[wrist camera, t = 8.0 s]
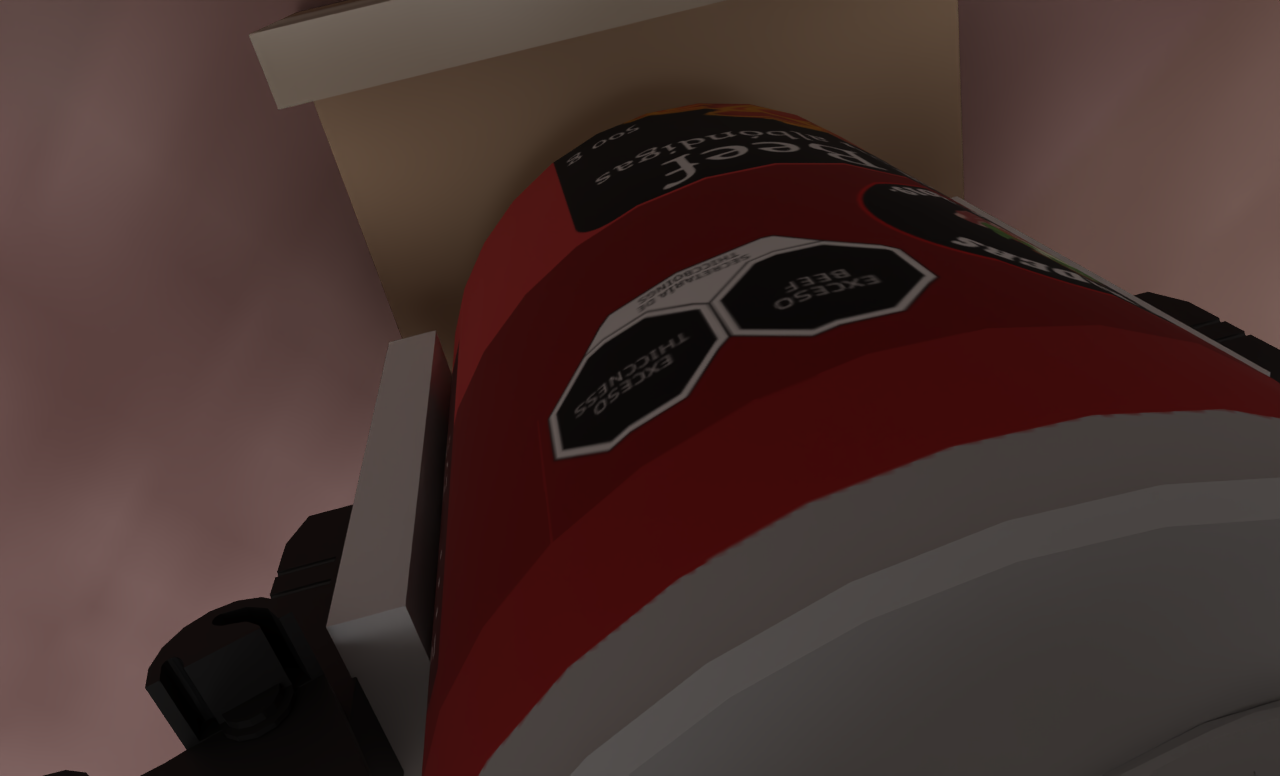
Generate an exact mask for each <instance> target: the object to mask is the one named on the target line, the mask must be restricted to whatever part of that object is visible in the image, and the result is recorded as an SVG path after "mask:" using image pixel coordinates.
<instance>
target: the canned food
mask: <svg viewBox="0 0 1280 776" xmlns="http://www.w3.org/2000/svg"><path fill="white" fill-rule="evenodd" d="M422 776H1280V383H1279V382H1277V381H1276V380H1274V379H1272V378H1271V377H1269V376H1267V375H1265V374H1263V373H1262V372H1260V371H1258V370H1256V369H1254V368H1253V367H1251V366H1249V365H1247V364H1246V363H1244V362H1242V361H1240V360H1238V359H1237V358H1235V357H1233V356H1231V355H1229V354H1228V353H1226V352H1224V351H1222V350H1221V349H1219V348H1217V347H1215V346H1213V345H1212V344H1210V343H1208V342H1206V341H1204V340H1203V339H1201V338H1199V337H1197V336H1196V335H1194V334H1192V333H1190V332H1188V331H1187V330H1185V329H1183V328H1181V327H1179V326H1178V325H1176V324H1174V323H1172V322H1171V321H1169V320H1167V319H1165V318H1163V317H1162V316H1160V315H1158V314H1156V313H1154V312H1153V311H1151V310H1149V309H1147V308H1146V307H1144V306H1142V305H1140V304H1138V303H1137V302H1135V301H1133V300H1131V299H1129V298H1128V297H1126V296H1124V295H1122V294H1121V293H1119V292H1117V291H1115V290H1113V289H1112V288H1110V287H1108V286H1106V285H1104V284H1103V283H1101V282H1099V281H1097V280H1096V279H1094V278H1092V277H1090V276H1088V275H1087V274H1085V273H1083V272H1081V271H1079V270H1078V269H1076V268H1074V267H1072V266H1071V265H1069V264H1067V263H1065V262H1063V261H1062V260H1060V259H1058V258H1056V257H1054V256H1053V255H1051V254H1049V253H1047V252H1046V251H1044V250H1042V249H1040V248H1038V247H1037V246H1035V245H1033V244H1031V243H1029V242H1028V241H1026V240H1024V239H1022V238H1021V237H1019V236H1017V235H1015V234H1013V233H1012V232H1010V231H1008V230H1006V229H1004V228H1003V227H1001V226H999V225H997V224H996V223H994V222H992V221H990V220H988V219H987V218H985V217H983V216H981V215H979V214H978V213H976V212H974V211H972V210H971V209H969V208H967V207H965V206H963V205H962V204H960V203H958V202H956V201H954V200H953V199H951V198H949V197H947V196H946V195H944V194H942V193H940V192H938V191H937V190H935V189H933V188H931V187H929V186H928V185H926V184H924V183H922V182H920V181H919V180H917V179H915V178H913V177H912V176H910V175H908V174H906V173H904V172H903V171H901V170H899V169H897V168H895V167H894V166H892V165H890V164H888V163H887V162H885V161H883V160H881V159H879V158H878V157H876V156H874V155H872V154H870V153H869V152H867V151H865V150H863V149H862V148H860V147H858V146H856V145H854V144H853V143H851V142H849V141H847V140H845V139H844V138H842V137H840V136H838V135H836V134H834V133H832V132H830V131H828V130H826V129H824V128H822V127H820V126H818V125H816V124H814V123H812V122H810V121H808V120H806V119H804V118H802V117H800V116H798V115H794V114H790V113H786V112H782V111H777V110H773V109H769V108H764V107H760V106H756V105H751V104H708V103H698V104H693V105H688V106H682V107H677V108H672V109H667V110H662V111H657V112H652V113H647V114H644V115H642V116H639V117H637V118H634V119H632V120H630V121H627V122H625V123H622V124H620V125H617V126H615V127H613V128H610V129H608V130H605V131H603V132H600V133H598V134H596V135H595V136H593V137H591V138H590V139H588V140H587V141H585V142H584V143H582V144H581V145H579V146H578V147H576V148H575V149H573V150H572V151H570V152H569V153H567V154H566V155H564V156H563V157H561V158H560V159H558V160H556V161H555V162H553V163H552V164H551V165H550V166H549V167H548V168H547V169H546V170H545V171H544V172H543V173H542V174H541V175H540V176H538V177H537V178H536V179H535V180H534V181H533V182H532V183H531V184H530V185H529V186H528V187H527V188H526V189H525V190H524V191H523V192H522V193H521V194H520V195H519V196H518V197H517V198H516V199H515V200H514V201H513V202H512V204H511V205H510V207H509V208H508V209H507V211H506V212H505V214H504V215H503V217H502V218H501V220H500V221H499V222H498V224H497V225H496V227H495V228H494V230H493V231H492V232H491V234H490V235H489V237H488V238H487V240H486V241H485V243H484V245H483V247H482V249H481V251H480V254H479V256H478V258H477V261H476V263H475V265H474V268H473V270H472V272H471V275H470V277H469V279H468V281H467V284H466V286H465V289H464V293H463V298H462V303H461V308H460V313H459V318H458V322H457V327H456V332H455V342H454V356H453V369H452V382H451V395H450V408H449V422H448V435H447V448H446V461H445V474H444V487H443V501H442V514H441V527H440V540H439V553H438V567H437V580H436V593H435V606H434V619H433V633H432V646H431V659H430V672H429V685H428V699H427V712H426V725H425V738H424V751H423V764H422Z"/></svg>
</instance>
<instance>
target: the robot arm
mask: <svg viewBox="0 0 1280 776" xmlns="http://www.w3.org/2000/svg"><path fill="white" fill-rule="evenodd" d="M951 199H953V200H954V201H956V202H958V203H960V204H962V205H963V206H965V207H967V208H969V209H971V210H972V211H974V212H976V213H978V214H979V215H981V216H983V217H985V218H987V219H988V220H990V221H992V222H994V223H996V224H997V225H999V226H1001V227H1003V228H1004V229H1006V230H1008V231H1010V232H1012V233H1013V234H1015V235H1017V236H1019V237H1021V238H1022V239H1024V240H1026V241H1028V242H1029V243H1031V244H1033V245H1035V246H1037V247H1038V248H1040V249H1042V250H1044V251H1046V252H1047V253H1049V254H1051V255H1053V256H1054V257H1056V258H1058V259H1060V260H1062V261H1063V262H1065V263H1067V264H1069V265H1071V266H1072V267H1074V268H1076V269H1078V270H1079V271H1081V272H1083V273H1085V274H1087V275H1088V276H1090V277H1092V278H1094V279H1096V280H1097V281H1099V282H1101V283H1103V284H1104V285H1106V286H1108V287H1110V288H1112V289H1113V290H1115V291H1117V292H1119V293H1121V294H1122V295H1124V296H1126V297H1128V298H1129V299H1131V300H1133V301H1135V302H1137V303H1138V304H1140V305H1142V306H1144V307H1146V308H1147V309H1149V310H1151V311H1153V312H1154V313H1156V314H1158V315H1160V316H1162V317H1163V318H1165V319H1167V320H1169V321H1171V322H1172V323H1174V324H1176V325H1178V326H1179V327H1181V328H1183V329H1185V330H1187V331H1188V332H1190V333H1192V334H1194V335H1196V336H1197V337H1199V338H1201V339H1203V340H1204V341H1206V342H1208V343H1210V344H1212V345H1213V346H1215V347H1217V348H1219V349H1221V350H1222V351H1224V352H1226V353H1228V354H1229V355H1231V356H1233V357H1235V358H1237V359H1238V360H1240V361H1242V362H1244V363H1246V364H1247V365H1249V366H1251V367H1253V368H1254V369H1256V370H1258V371H1260V372H1262V373H1263V374H1265V375H1267V376H1269V377H1271V378H1272V379H1274V380H1276V381H1277V382H1279V383H1280V350H1279V349H1277V348H1275V347H1273V346H1271V345H1269V344H1267V343H1266V342H1264V341H1262V340H1260V339H1258V338H1256V337H1254V336H1252V335H1248V336H1246V335H1245V333H1244V331H1243V330H1241V329H1239V328H1237V327H1235V326H1233V325H1231V324H1230V323H1228V322H1226V321H1224V322H1220V320H1219V318H1218V317H1216V316H1214V315H1212V314H1211V313H1209V312H1207V311H1205V310H1203V309H1201V308H1199V307H1197V306H1195V305H1194V304H1192V303H1190V302H1187V301H1183V300H1179V299H1175V298H1171V297H1167V296H1163V295H1159V294H1155V293H1151V292H1146V293H1142V294H1138V295H1132V294H1130V293H1128V292H1126V291H1125V290H1123V289H1121V288H1119V287H1118V286H1116V285H1114V284H1112V283H1110V282H1109V281H1107V280H1105V279H1103V278H1102V277H1100V276H1098V275H1096V274H1094V273H1093V272H1091V271H1089V270H1087V269H1086V268H1084V267H1082V266H1080V265H1078V264H1077V263H1075V262H1073V261H1071V260H1070V259H1068V258H1066V257H1064V256H1062V255H1061V254H1059V253H1057V252H1055V251H1053V250H1052V249H1050V248H1048V247H1046V246H1045V245H1043V244H1041V243H1039V242H1037V241H1036V240H1034V239H1032V238H1030V237H1029V236H1027V235H1025V234H1023V233H1021V232H1020V231H1018V230H1016V229H1014V228H1013V227H1011V226H1009V225H1007V224H1005V223H1004V222H1002V221H1000V220H998V219H997V218H995V217H993V216H991V215H989V214H988V213H986V212H984V211H982V210H981V209H979V208H977V207H975V206H973V205H972V204H970V203H968V202H966V201H965V200H963V199H961V198H959V197H953V198H951ZM451 382H452V374H451V371H450V369H449V366H448V363H447V360H446V357H445V354H444V352H443V349H442V346H441V343H440V340H439V337H438V334H437V332H436V330H435V331H431V332H427V333H423V334H419V335H416V336H412V337H408V338H404V339H400V340H396V341H392V342H389V346H388V350H387V355H386V359H385V364H384V368H383V373H382V377H381V382H380V386H379V391H378V395H377V400H376V404H375V409H374V413H373V418H372V422H371V427H370V431H369V436H368V440H367V445H366V449H365V454H364V458H363V463H362V467H361V472H360V476H359V481H358V485H357V490H356V494H355V499H354V503H353V505H350V506H346V507H342V508H338V509H335V510H331V511H327V512H323V513H319V514H316V515H312V516H309V517H308V518H307V519H306V521H305V522H304V523H303V524H302V525H301V527H300V528H299V529H298V530H297V531H296V533H295V534H294V535H293V536H292V538H291V539H290V540H289V541H288V542H287V544H286V546H285V549H284V552H283V555H282V558H281V561H280V565H279V568H278V571H277V573H278V577H275V580H274V583H273V587H272V590H271V593H270V596H271V599H269V598H264V597H259V598H253V599H246V600H239V601H235V602H233V603H230V604H228V605H225V606H223V607H220V608H218V609H215V610H212V611H210V612H208V613H207V614H205V615H204V616H202V617H200V618H199V619H197V620H195V621H194V622H192V623H191V624H189V625H187V626H186V627H184V628H183V629H182V630H181V631H180V632H179V633H178V634H177V635H175V636H174V637H173V638H172V639H171V640H170V641H169V642H168V643H167V644H166V645H165V646H163V647H162V649H161V650H160V652H159V653H158V655H157V656H156V658H155V660H154V661H153V663H152V664H151V666H150V667H149V669H148V674H147V680H146V686H145V688H146V690H147V691H148V693H149V694H150V696H151V697H152V699H153V700H154V702H155V703H156V705H157V706H158V708H159V709H160V711H161V712H162V714H163V715H164V717H165V718H166V720H167V721H168V723H169V724H170V726H171V727H172V729H173V730H174V732H175V733H176V735H177V736H178V738H179V739H180V740H181V742H182V743H183V745H184V746H185V748H186V749H187V750H186V751H184V752H183V753H181V754H179V755H178V756H176V757H174V758H173V759H171V760H169V761H168V762H166V763H164V764H162V765H160V766H158V767H156V768H154V769H153V770H151V771H149V772H147V773H145V774H143V775H141V776H422V764H423V751H424V738H425V725H426V712H427V699H428V685H429V672H430V659H431V646H432V633H433V619H434V606H435V593H436V580H437V567H438V553H439V540H440V527H441V514H442V501H443V487H444V474H445V461H446V448H447V435H448V422H449V408H450V395H451ZM44 776H89V775H88V774H87V773H85V772H77V771H69V770H64V771H60V772H56V773H52V774H48V775H44Z"/></svg>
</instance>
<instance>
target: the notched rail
mask: <svg viewBox="0 0 1280 776" xmlns="http://www.w3.org/2000/svg"><path fill="white" fill-rule="evenodd" d="M249 37H250V39H251V42H252V44H253V47H254V49H255V52H256V54H257V57H258V59H259V62H260V64H261V67H262V69H263V72H264V75H265V77H266V80H267V82H268V85H269V87H270V90H271V92H272V95H273V97H274V100H275V102H276V105H277V107H278V110H280V109H284V108H288V107H292V106H296V105H300V104H304V103H308V102H312V101H313V102H314V105H315V107H316V110H317V113H318V115H319V118H320V121H321V123H322V126H323V129H324V131H325V134H326V137H327V139H328V142H329V145H330V147H331V150H332V153H333V155H334V158H335V161H336V163H337V166H338V169H339V171H340V174H341V177H342V179H343V182H344V185H345V187H346V190H347V193H348V195H349V198H350V201H351V203H352V206H353V209H354V211H355V214H356V217H357V219H358V222H359V225H360V227H361V230H362V233H363V235H364V238H365V241H366V243H367V246H368V249H369V251H370V254H371V257H372V259H373V262H374V265H375V267H376V270H377V273H378V275H379V278H380V281H381V283H382V286H383V289H384V291H385V294H386V297H387V299H388V302H389V305H390V307H391V310H392V313H393V315H394V318H395V321H396V323H397V326H398V329H399V331H400V334H401V337H402V339H404V338H408V337H412V336H416V335H419V334H423V333H427V332H431V331H435V330H436V332H437V334H438V337H439V340H440V343H441V346H442V349H443V352H444V354H445V357H446V360H447V363H448V366H449V369H450V371H451V374H452V369H453V356H454V342H455V332H456V327H457V322H458V318H459V313H460V308H461V303H462V298H463V293H464V289H465V286H466V284H467V281H468V279H469V277H470V275H471V272H472V270H473V268H474V265H475V263H476V261H477V258H478V256H479V254H480V251H481V249H482V247H483V245H484V243H485V241H486V240H487V238H488V237H489V235H490V234H491V232H492V231H493V230H494V228H495V227H496V225H497V224H498V222H499V221H500V220H501V218H502V217H503V215H504V214H505V212H506V211H507V209H508V208H509V207H510V205H511V204H512V202H513V201H514V200H515V199H516V198H517V197H518V196H519V195H520V194H521V193H522V192H523V191H524V190H525V189H526V188H527V187H528V186H529V185H530V184H531V183H532V182H533V181H534V180H535V179H536V178H537V177H538V176H540V175H541V174H542V173H543V172H544V171H545V170H546V169H547V168H548V167H549V166H550V165H551V164H552V163H553V162H555V161H556V160H558V159H560V158H561V157H563V156H564V155H566V154H567V153H569V152H570V151H572V150H573V149H575V148H576V147H578V146H579V145H581V144H582V143H584V142H585V141H587V140H588V139H590V138H591V137H593V136H595V135H596V134H598V133H600V132H603V131H605V130H608V129H610V128H613V127H615V126H617V125H620V124H622V123H625V122H627V121H630V120H632V119H634V118H637V117H639V116H642V115H644V114H647V113H652V112H657V111H662V110H667V109H672V108H677V107H682V106H688V105H693V104H698V103H708V104H751V105H756V106H760V107H764V108H769V109H773V110H777V111H782V112H786V113H790V114H794V115H798V116H800V117H802V118H804V119H806V120H808V121H810V122H812V123H814V124H816V125H818V126H820V127H822V128H824V129H826V130H828V131H830V132H832V133H834V134H836V135H838V136H840V137H842V138H844V139H845V140H847V141H849V142H851V143H853V144H854V145H856V146H858V147H860V148H862V149H863V150H865V151H867V152H869V153H870V154H872V155H874V156H876V157H878V158H879V159H881V160H883V161H885V162H887V163H888V164H890V165H892V166H894V167H895V168H897V169H899V170H901V171H903V172H904V173H906V174H908V175H910V176H912V177H913V178H915V179H917V180H919V181H920V182H922V183H924V184H926V185H928V186H929V187H931V188H933V189H935V190H937V191H938V192H940V193H942V194H944V195H946V196H947V197H949V198H953V197H959V198H961V199H963V200H964V179H963V148H962V116H961V85H960V54H959V23H958V0H347V1H343V2H338V3H334V4H330V5H326V6H322V7H318V8H313V9H309V10H305V11H301V12H297V13H294V14H292V15H290V16H288V17H286V18H284V19H281V20H279V21H277V22H275V23H273V24H271V25H268V26H266V27H264V28H262V29H260V30H258V31H256V32H253V33H251V34H249Z"/></svg>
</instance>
